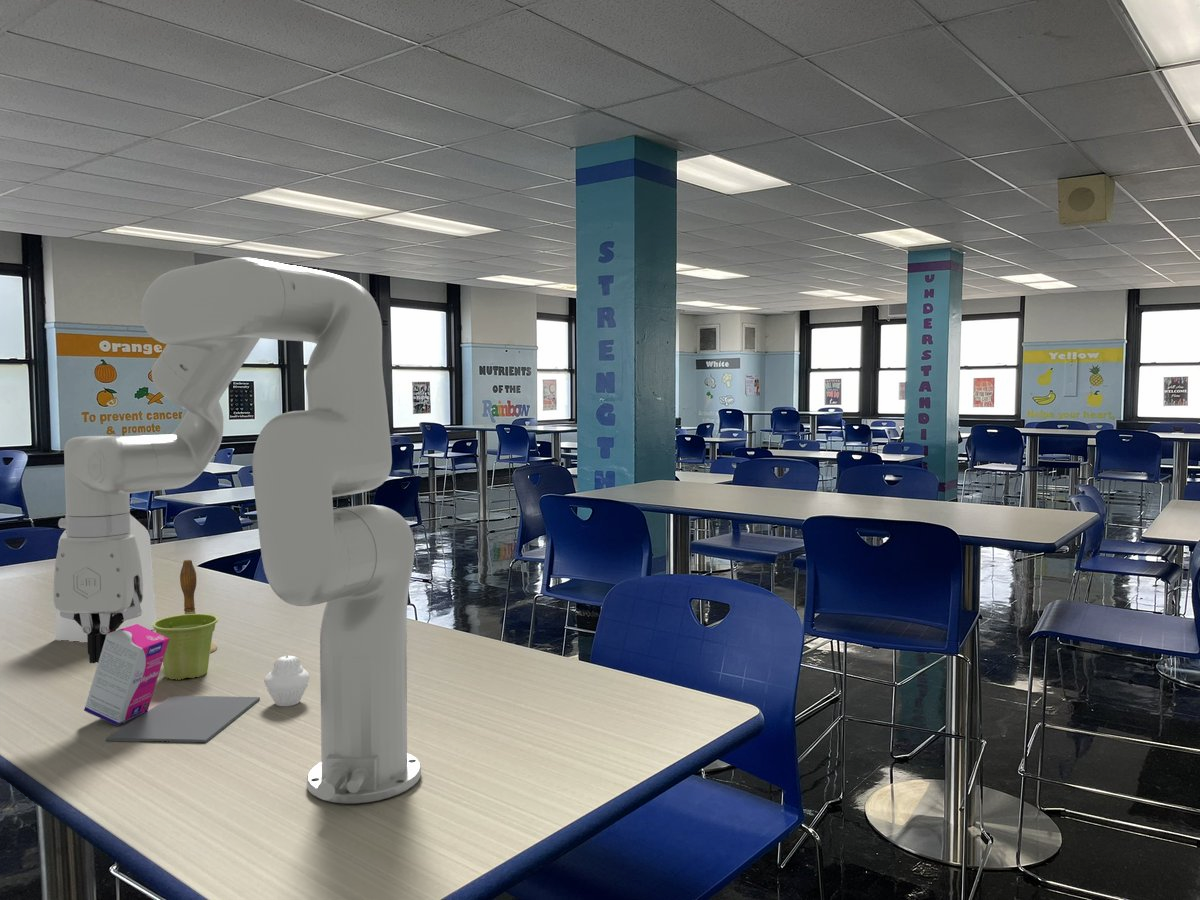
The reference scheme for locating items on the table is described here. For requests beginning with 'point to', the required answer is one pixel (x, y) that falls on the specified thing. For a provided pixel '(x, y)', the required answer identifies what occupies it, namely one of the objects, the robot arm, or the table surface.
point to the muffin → (287, 681)
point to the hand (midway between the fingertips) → (102, 660)
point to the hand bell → (190, 590)
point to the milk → (74, 632)
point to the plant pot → (186, 644)
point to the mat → (185, 719)
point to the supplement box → (126, 674)
